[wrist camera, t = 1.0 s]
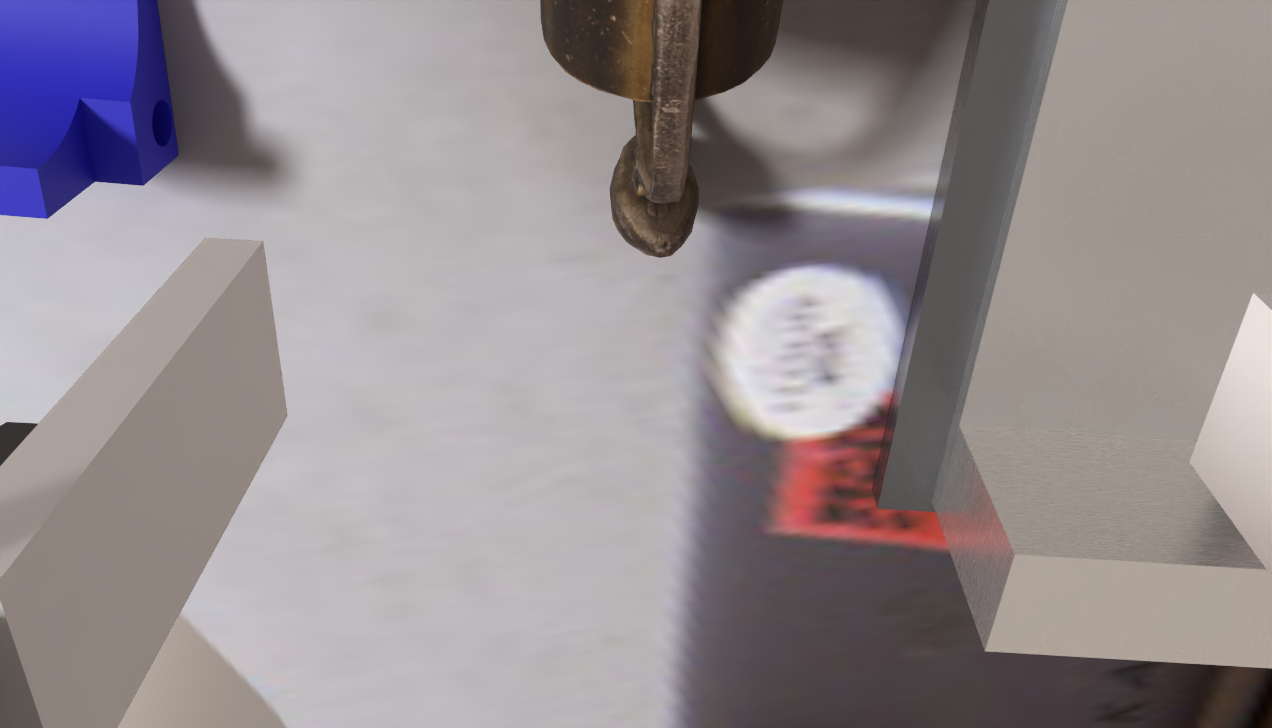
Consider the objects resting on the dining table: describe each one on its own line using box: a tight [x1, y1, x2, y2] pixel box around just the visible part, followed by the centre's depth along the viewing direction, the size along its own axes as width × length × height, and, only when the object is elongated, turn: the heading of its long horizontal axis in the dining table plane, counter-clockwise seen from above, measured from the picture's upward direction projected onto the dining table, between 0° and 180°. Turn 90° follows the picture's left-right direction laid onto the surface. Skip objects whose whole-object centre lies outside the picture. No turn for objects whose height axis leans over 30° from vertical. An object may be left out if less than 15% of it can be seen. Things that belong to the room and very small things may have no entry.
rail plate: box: [872, 0, 1272, 668], centre depth 32 cm, size 28×14×9 cm, turn 176°
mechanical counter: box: [541, 0, 783, 257], centre depth 29 cm, size 7×13×10 cm, turn 15°
